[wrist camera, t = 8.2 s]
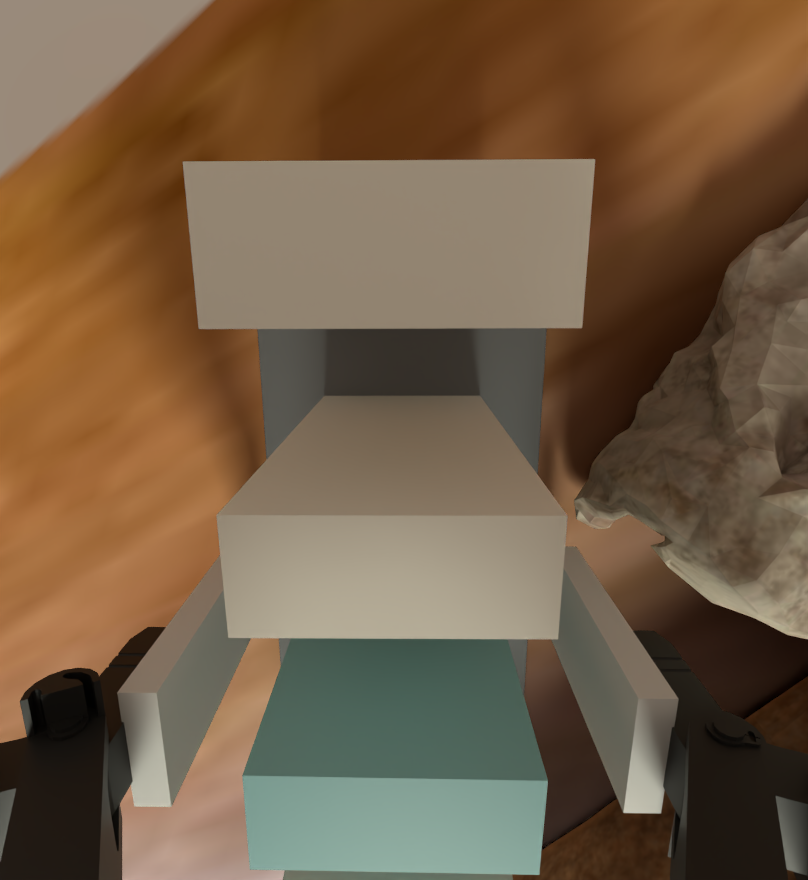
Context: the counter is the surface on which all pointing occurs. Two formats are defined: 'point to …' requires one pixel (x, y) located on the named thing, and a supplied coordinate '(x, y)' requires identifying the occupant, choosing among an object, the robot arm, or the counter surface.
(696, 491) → the rock
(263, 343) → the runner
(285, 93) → the counter surface
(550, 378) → the counter surface
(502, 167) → the domino
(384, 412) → the domino
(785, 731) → the bread
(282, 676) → the teal domino
